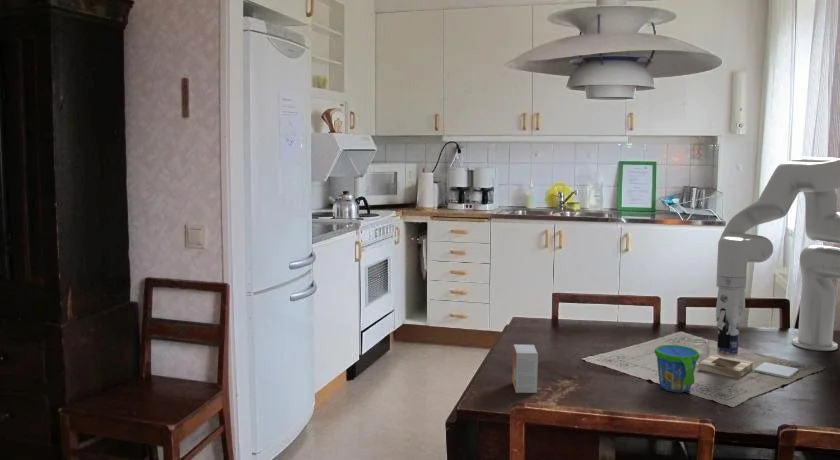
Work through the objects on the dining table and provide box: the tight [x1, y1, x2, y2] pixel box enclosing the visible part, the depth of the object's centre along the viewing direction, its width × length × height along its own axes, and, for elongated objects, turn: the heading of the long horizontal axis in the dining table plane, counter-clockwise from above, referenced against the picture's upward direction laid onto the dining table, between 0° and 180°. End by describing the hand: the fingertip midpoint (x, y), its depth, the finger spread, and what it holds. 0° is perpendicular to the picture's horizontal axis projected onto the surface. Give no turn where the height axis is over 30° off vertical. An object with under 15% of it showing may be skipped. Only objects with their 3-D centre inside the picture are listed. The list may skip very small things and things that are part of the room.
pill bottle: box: [716, 321, 740, 358], centre depth 205 cm, size 5×5×10 cm
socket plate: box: [698, 354, 754, 379], centre depth 205 cm, size 11×11×2 cm
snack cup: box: [654, 344, 700, 393], centre depth 189 cm, size 16×10×10 cm
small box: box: [511, 343, 539, 394], centre depth 189 cm, size 8×6×10 cm
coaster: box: [753, 361, 800, 379], centre depth 204 cm, size 9×9×1 cm
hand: (727, 344), depth 205 cm, fingers closed on pill bottle, 5 cm apart
